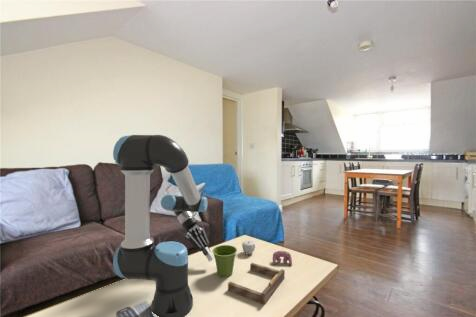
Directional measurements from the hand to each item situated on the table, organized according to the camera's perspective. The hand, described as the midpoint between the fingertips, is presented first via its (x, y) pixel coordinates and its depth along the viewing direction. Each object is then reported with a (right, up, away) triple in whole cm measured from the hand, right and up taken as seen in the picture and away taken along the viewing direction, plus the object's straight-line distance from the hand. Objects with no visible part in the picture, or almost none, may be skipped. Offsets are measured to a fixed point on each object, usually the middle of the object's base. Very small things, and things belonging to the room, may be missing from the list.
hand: (211, 259), depth 115 cm
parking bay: (+21, -5, -14) cm, 26 cm away
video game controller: (+36, -4, +5) cm, 37 cm away
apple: (+19, -4, +17) cm, 26 cm away
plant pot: (+7, -5, -5) cm, 9 cm away
